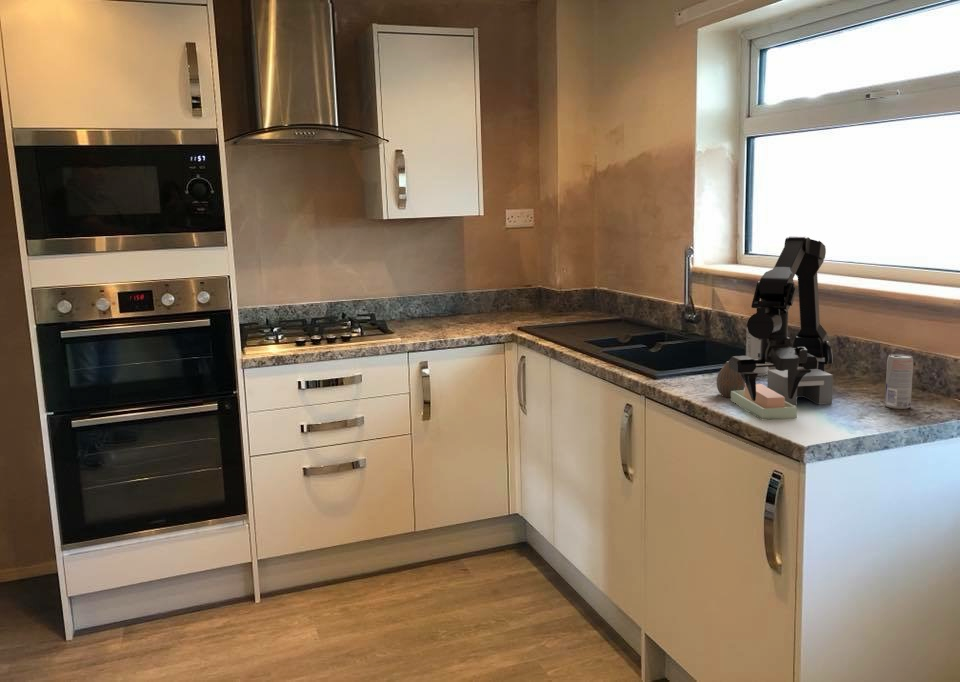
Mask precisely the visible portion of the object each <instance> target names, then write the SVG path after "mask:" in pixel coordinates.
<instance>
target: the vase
mask: <svg viewBox="0 0 960 682" xmlns="http://www.w3.org/2000/svg"><path fill="white" fill-rule="evenodd" d="M745 384H746V383H745V381H744V379H743V378H742V376H741V374H740V373H738V372H736V371H734V370H732V369H730V368H729V360H728V361H726V362H725V363H724V365H723V367H722V368H721V369H720V370H719V371H718V374H717V375H716V388H717V391H718V393H719V394H720V395H721V396H722V397H724V398H729V397H731V391H739V390H745Z"/></svg>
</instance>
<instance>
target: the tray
mask: <svg viewBox="0 0 960 682" xmlns="http://www.w3.org/2000/svg"><path fill="white" fill-rule="evenodd" d="M744 396H745V389H744V390H739V391H731V398H730V401H731V402H732V403H733V402H734V403H733V404H735V403H736V405H737V406H738V405H739V406H738V407H740V406H741V407H740V408H742V409H743V408H744V409H743V410H745V409H746V410H745V411H747V412H748V411H749V413H750V412H751V413H750V414H752V415H753V414H754V415H753V416H755V415H756V416H755V417H757V418H758V417H759V419H760V418H761V420H762V419H767V420H781V419H782V420H783V419H797V415H798V407H797V405H796V406H794V405H792V404H790V403H788V402H786V401H785V407H779V408H762V407H761V406H759V405H757V404H755V403H754V402H752V401H750V400H748V399H746V398H745V397H744Z"/></svg>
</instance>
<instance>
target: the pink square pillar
mask: <svg viewBox="0 0 960 682" xmlns="http://www.w3.org/2000/svg"><path fill="white" fill-rule="evenodd" d="M744 390H745V396H744V397H745V398H746V399H748V400H750V401H752V402H754V403H755V404H757V405H759V406H761V407H762V408H779V407H785V397H784V396H782V395H780V394H778V393H777V392H775V391H773V390H771V389H769V388H768V387H767V386H766V385H764V384H762V383H756V400H755V401H753V400H752V399H751V396H750V393H749V391H748V388H747V386H746V383H745V388H744Z"/></svg>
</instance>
